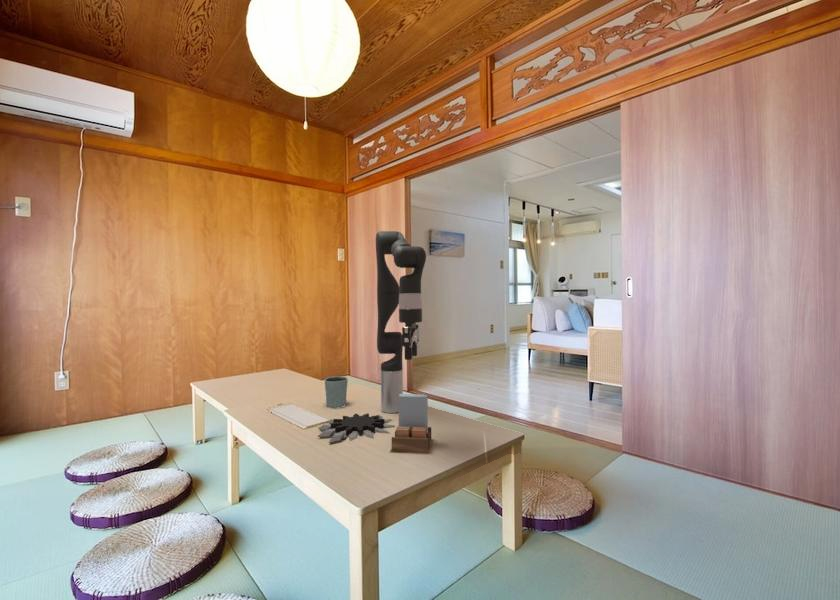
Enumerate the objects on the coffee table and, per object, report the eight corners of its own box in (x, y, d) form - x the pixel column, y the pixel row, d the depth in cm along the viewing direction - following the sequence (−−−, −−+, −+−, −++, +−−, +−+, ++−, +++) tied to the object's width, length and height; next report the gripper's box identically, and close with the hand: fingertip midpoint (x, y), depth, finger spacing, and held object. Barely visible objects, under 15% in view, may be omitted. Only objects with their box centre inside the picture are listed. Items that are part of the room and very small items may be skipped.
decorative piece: (296, 426, 133) (353, 404, 159) (296, 437, 133) (353, 414, 159) (364, 442, 118) (415, 415, 144) (364, 455, 118) (415, 426, 144)
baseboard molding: (300, 432, 139) (329, 424, 148) (299, 424, 139) (329, 416, 148) (265, 413, 162) (292, 407, 170) (265, 406, 162) (292, 401, 170)
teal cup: (341, 401, 178) (341, 375, 178) (352, 406, 170) (352, 378, 170) (320, 405, 171) (320, 378, 171) (331, 410, 163) (330, 382, 163)
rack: (397, 442, 127) (396, 425, 127) (433, 443, 126) (432, 427, 126) (389, 457, 115) (389, 439, 115) (429, 459, 114) (428, 440, 114)
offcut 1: (397, 445, 121) (397, 426, 121) (410, 446, 120) (410, 426, 120) (395, 449, 118) (395, 429, 118) (408, 449, 117) (408, 430, 117)
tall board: (400, 439, 126) (400, 393, 125) (427, 440, 124) (427, 394, 124) (398, 443, 123) (398, 396, 122) (426, 444, 121) (426, 397, 121)
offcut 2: (413, 446, 120) (413, 427, 120) (426, 446, 119) (425, 427, 119) (411, 450, 117) (411, 430, 117) (424, 450, 116) (424, 430, 116)
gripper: (404, 307, 132) (404, 354, 132) (393, 308, 118) (394, 360, 118) (425, 307, 131) (426, 355, 131) (417, 307, 117) (418, 361, 117)
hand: (411, 357), depth 124 cm, fingers open, 8 cm apart
